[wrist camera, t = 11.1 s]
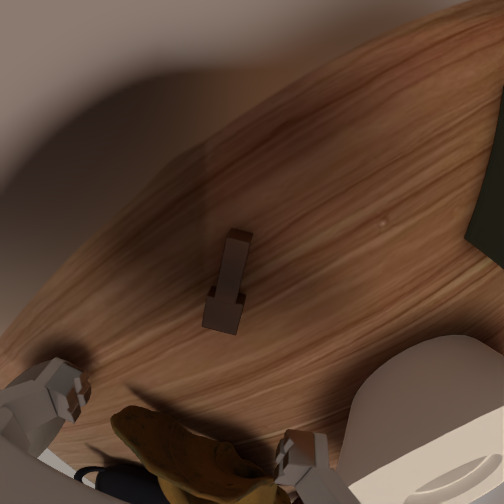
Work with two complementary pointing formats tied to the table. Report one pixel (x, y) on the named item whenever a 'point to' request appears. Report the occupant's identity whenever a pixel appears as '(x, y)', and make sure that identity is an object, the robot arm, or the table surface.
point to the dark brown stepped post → (228, 286)
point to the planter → (48, 430)
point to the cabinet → (491, 203)
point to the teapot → (126, 484)
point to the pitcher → (193, 462)
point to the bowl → (428, 426)
